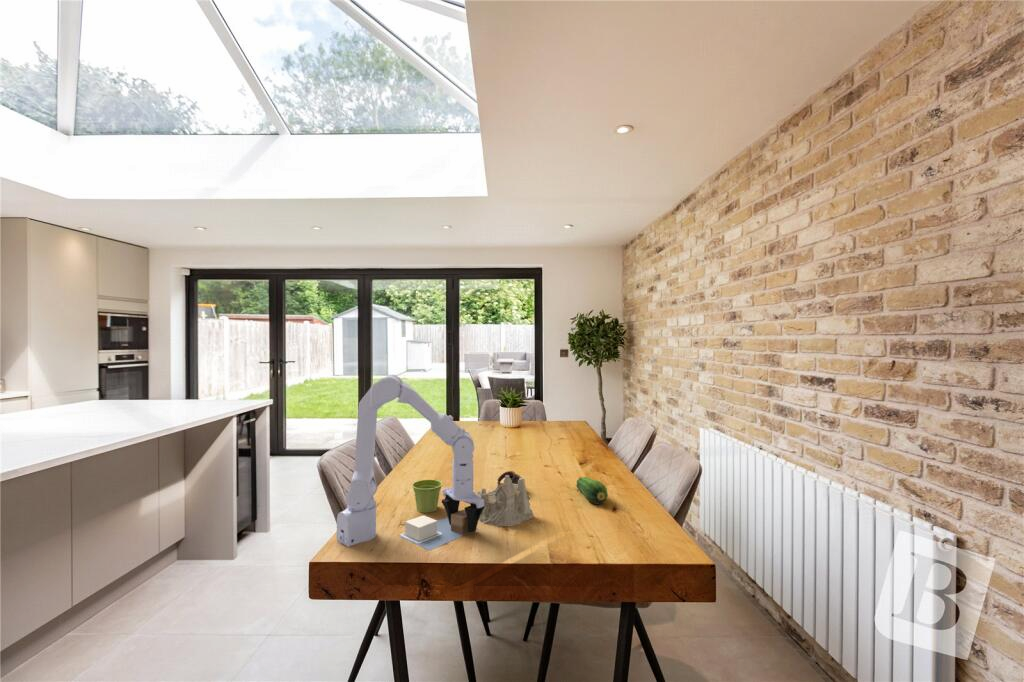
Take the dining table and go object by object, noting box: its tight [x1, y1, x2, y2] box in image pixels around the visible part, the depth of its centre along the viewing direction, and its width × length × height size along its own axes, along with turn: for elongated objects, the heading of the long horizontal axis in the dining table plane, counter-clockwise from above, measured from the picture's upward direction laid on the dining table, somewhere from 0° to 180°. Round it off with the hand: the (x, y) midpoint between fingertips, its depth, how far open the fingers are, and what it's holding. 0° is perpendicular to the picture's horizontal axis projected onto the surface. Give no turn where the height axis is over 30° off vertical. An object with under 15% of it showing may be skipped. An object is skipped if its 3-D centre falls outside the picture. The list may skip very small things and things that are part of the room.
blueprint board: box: [398, 516, 478, 551], centre depth 118 cm, size 17×13×1 cm
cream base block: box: [404, 514, 438, 541], centre depth 117 cm, size 6×6×4 cm
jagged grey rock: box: [475, 475, 535, 527], centre depth 131 cm, size 16×16×15 cm
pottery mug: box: [496, 470, 522, 488], centre depth 156 cm, size 12×10×8 cm
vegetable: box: [575, 476, 609, 505], centre depth 150 cm, size 7×7×20 cm
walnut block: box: [451, 509, 470, 536], centre depth 119 cm, size 4×4×4 cm
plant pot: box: [411, 478, 443, 513], centre depth 136 cm, size 9×9×9 cm
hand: (462, 527), depth 119 cm, fingers open, 7 cm apart
